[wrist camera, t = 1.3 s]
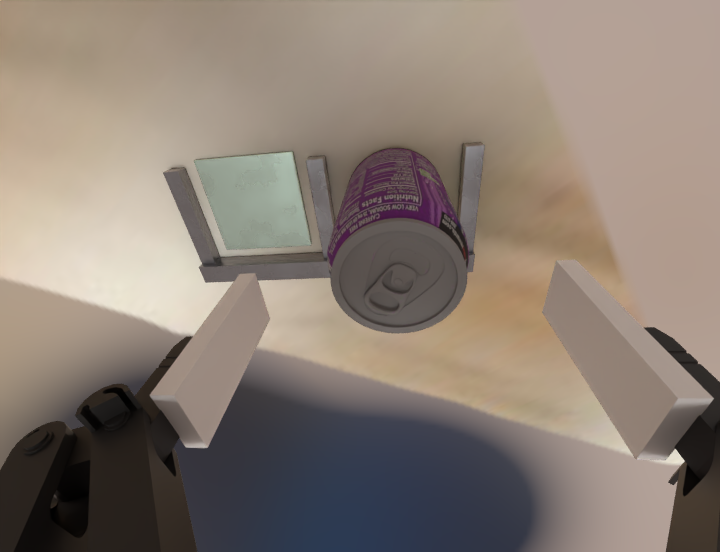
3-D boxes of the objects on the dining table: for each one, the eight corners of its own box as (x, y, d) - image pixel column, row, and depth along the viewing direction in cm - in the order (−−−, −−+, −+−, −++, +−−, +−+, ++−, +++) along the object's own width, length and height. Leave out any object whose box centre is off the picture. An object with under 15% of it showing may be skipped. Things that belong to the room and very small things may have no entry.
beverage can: (409, 249, 27) (421, 358, 17) (333, 212, 26) (298, 306, 16) (460, 175, 23) (514, 258, 13) (375, 126, 22) (363, 178, 12)
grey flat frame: (167, 162, 24) (154, 167, 23) (481, 134, 22) (488, 138, 20) (213, 272, 30) (205, 282, 28) (468, 261, 27) (472, 271, 26)
